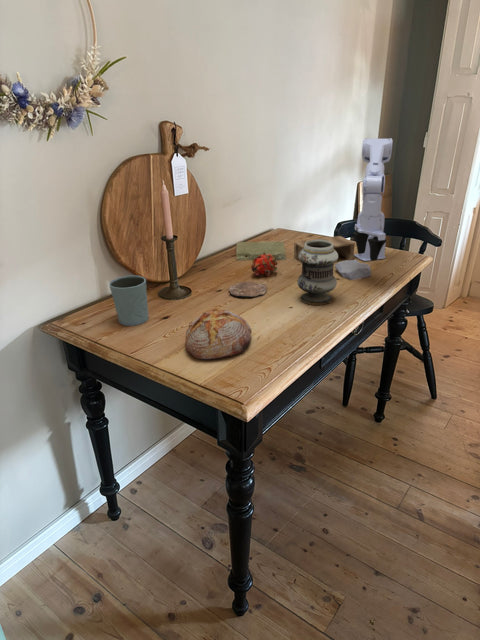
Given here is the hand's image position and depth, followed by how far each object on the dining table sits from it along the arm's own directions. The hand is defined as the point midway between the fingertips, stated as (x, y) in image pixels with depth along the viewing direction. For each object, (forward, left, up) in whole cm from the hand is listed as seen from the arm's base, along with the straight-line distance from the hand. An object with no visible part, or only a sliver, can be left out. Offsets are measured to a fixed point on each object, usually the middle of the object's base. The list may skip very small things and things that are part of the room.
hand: (367, 256), depth 154 cm
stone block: (-1, -11, -10) cm, 15 cm away
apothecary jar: (+21, +5, -10) cm, 24 cm away
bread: (+58, +23, -10) cm, 63 cm away
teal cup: (+77, -2, -10) cm, 78 cm away
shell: (+39, -9, -10) cm, 41 cm away
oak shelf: (0, -30, -9) cm, 31 cm away
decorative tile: (+20, -46, -10) cm, 51 cm away
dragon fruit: (+28, -22, -10) cm, 37 cm away
